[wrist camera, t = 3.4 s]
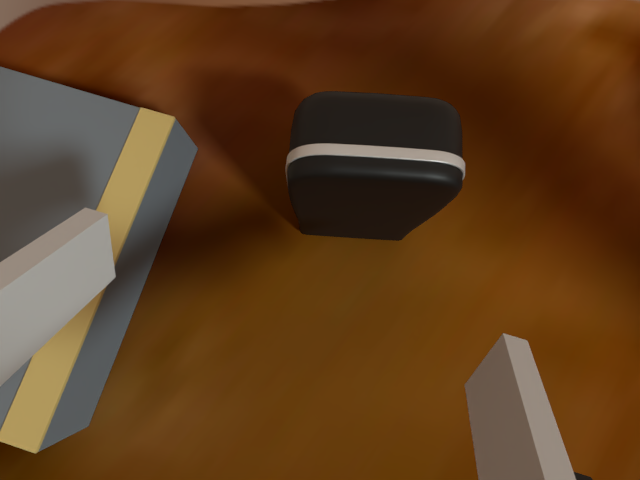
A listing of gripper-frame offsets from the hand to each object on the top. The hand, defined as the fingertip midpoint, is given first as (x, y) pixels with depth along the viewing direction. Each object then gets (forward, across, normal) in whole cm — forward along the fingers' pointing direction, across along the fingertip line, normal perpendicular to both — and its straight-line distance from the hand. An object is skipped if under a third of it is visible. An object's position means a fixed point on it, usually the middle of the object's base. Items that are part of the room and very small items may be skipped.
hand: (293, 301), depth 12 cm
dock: (+7, -16, -8) cm, 20 cm away
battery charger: (+12, +1, -3) cm, 13 cm away
